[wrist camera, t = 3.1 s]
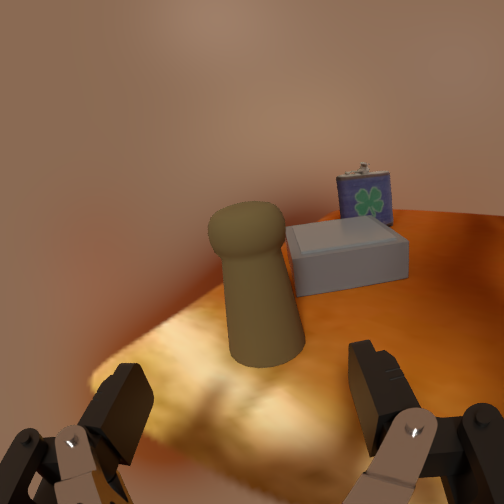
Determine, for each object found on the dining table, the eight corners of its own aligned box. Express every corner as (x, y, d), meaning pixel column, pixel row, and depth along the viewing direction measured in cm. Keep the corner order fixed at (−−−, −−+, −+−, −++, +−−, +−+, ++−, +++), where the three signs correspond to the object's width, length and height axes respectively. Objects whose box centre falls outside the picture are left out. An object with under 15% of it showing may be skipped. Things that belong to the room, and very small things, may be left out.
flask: (389, 222, 48) (384, 159, 44) (397, 226, 45) (392, 160, 41) (339, 230, 48) (332, 164, 44) (345, 235, 45) (338, 165, 42)
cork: (245, 378, 20) (208, 222, 16) (220, 337, 25) (189, 210, 22) (320, 347, 21) (305, 199, 18) (284, 315, 27) (265, 192, 23)
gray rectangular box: (372, 242, 40) (370, 213, 39) (408, 277, 29) (408, 238, 27) (287, 255, 41) (283, 225, 40) (296, 296, 30) (291, 256, 28)
